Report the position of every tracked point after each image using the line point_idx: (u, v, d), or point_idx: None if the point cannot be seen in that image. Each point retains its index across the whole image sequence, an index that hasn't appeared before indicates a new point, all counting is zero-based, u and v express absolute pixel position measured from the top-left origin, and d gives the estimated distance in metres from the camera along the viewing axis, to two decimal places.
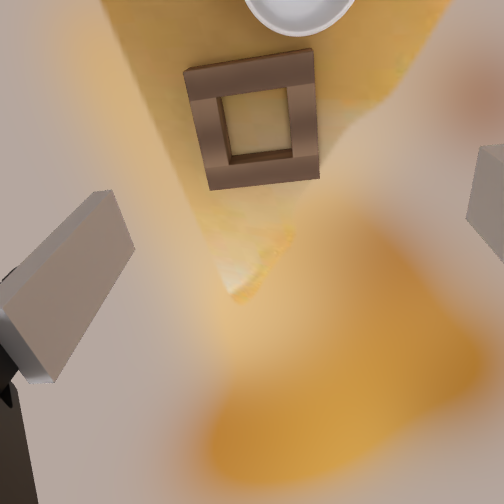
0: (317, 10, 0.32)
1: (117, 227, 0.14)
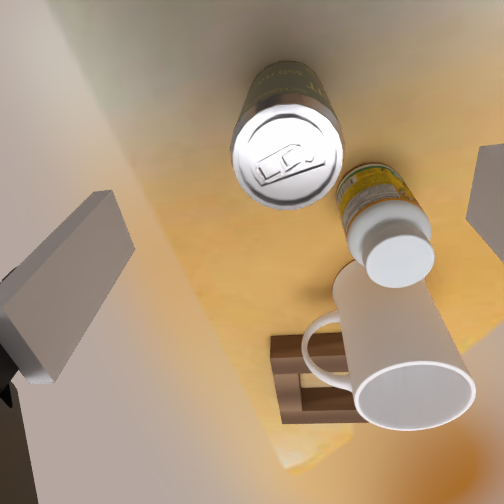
0: None
1: (117, 227, 0.14)
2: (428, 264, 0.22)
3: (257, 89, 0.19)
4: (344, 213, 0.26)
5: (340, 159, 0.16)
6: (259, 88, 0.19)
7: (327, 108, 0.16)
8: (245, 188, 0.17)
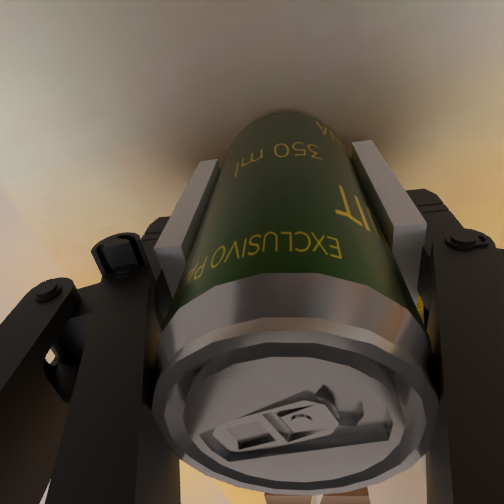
0: None
1: None
2: None
3: (227, 197, 0.09)
4: None
5: None
6: (231, 199, 0.09)
7: (400, 306, 0.06)
8: (191, 462, 0.07)
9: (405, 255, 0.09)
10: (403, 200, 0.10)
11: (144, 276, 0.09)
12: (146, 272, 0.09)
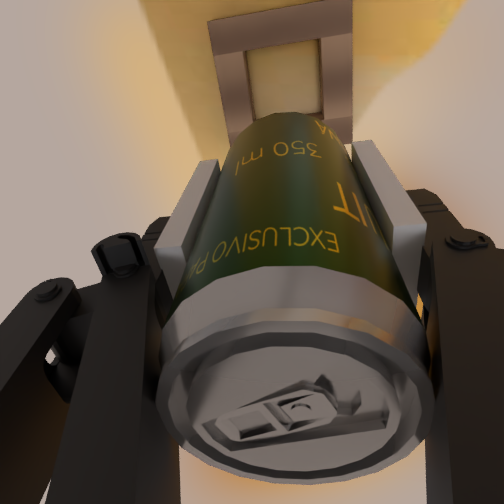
0: None
1: None
2: None
3: (228, 195, 0.09)
4: None
5: (427, 422, 0.06)
6: (231, 196, 0.09)
7: (395, 297, 0.06)
8: (194, 452, 0.07)
9: (405, 255, 0.09)
10: (403, 200, 0.10)
11: (144, 276, 0.09)
12: (146, 272, 0.09)
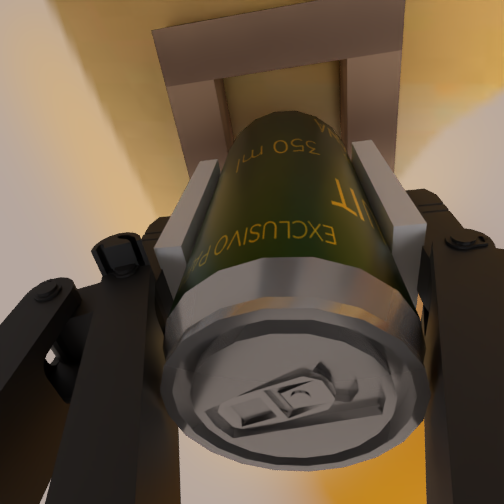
0: None
1: None
2: None
3: (229, 191, 0.10)
4: None
5: (422, 407, 0.07)
6: (232, 192, 0.09)
7: (390, 287, 0.06)
8: (197, 439, 0.08)
9: (405, 255, 0.09)
10: (403, 200, 0.10)
11: (144, 276, 0.09)
12: (146, 272, 0.09)
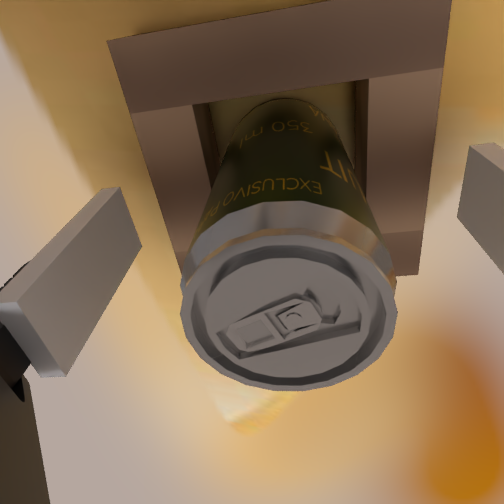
0: None
1: (124, 224, 0.14)
2: None
3: (234, 163, 0.11)
4: None
5: (391, 324, 0.08)
6: (237, 163, 0.11)
7: (365, 226, 0.08)
8: (210, 361, 0.09)
9: None
10: None
11: None
12: None
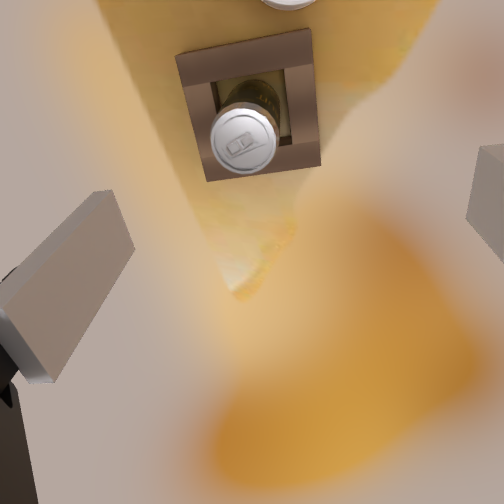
0: None
1: (117, 227, 0.14)
2: None
3: (227, 100, 0.30)
4: None
5: (274, 140, 0.27)
6: (228, 99, 0.30)
7: (265, 110, 0.27)
8: (219, 161, 0.28)
9: None
10: None
11: None
12: None
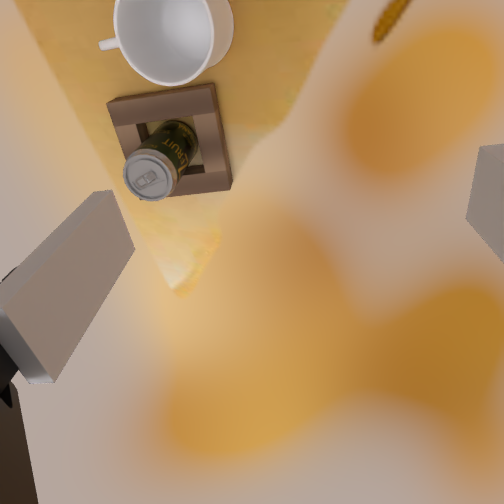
0: None
1: (117, 227, 0.14)
2: None
3: None
4: None
5: (171, 177, 0.36)
6: (143, 142, 0.39)
7: (163, 154, 0.36)
8: (131, 191, 0.37)
9: None
10: None
11: None
12: None
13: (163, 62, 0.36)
